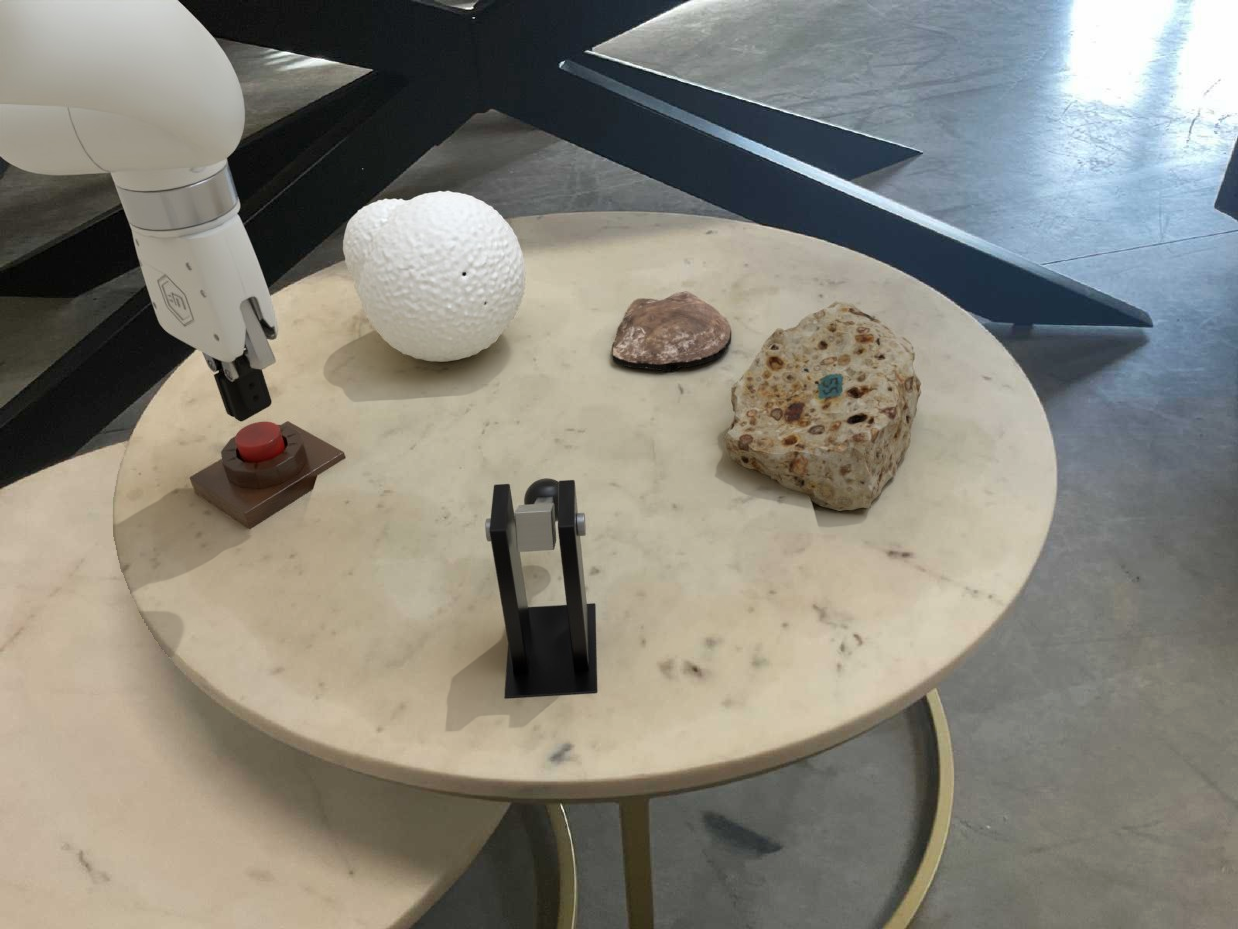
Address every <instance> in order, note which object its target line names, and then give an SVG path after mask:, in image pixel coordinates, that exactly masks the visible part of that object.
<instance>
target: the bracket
mask: <svg viewBox="0 0 1238 929" xmlns="http://www.w3.org/2000/svg"><path fill="white" fill-rule="evenodd" d="M558 482H559V488H558V521H557V533H558V534H557V535H558V542H559V550H560V559H561V560H560V561H561V568H562V569H561V570H562V577H563V578H562V579H563V586H564V594H565V602H566V604H558V605H542V606H528V599H527V591H526V586H525V584H526V583H525V578H524V572H523V565H522V559H521V552H517V541H516V527H515V514H514V513H515V511H514V504H513V496H512V489H511V485H510V483H500V484H499V483H497V484H493V490H492V499H491V510H490V518H485V524H484V526H485V527H484V528H485V530H484V532H485V538H486V541H487V542H490V544H491V550H492V556H493V562H494V568H495V574H496V580H497V585H498V592H499V597H500V598H499V599H500V603H501V610H502V615H503V622H504V627H505V633H506V639H507V653H506V668H505V683H504V699H507V700H508V699H522V698H523V699H524V698H525V699H526V698H539V697H541V698H542V697H555V696H556V697H557V696H558V697H559V696H575V695H590V694H591V695H592V694H597V693H598V658H597V655H598V654H597V613H596V612H597V609H596V607H597V606H596V603H595V602H593V603H592V602H590V603H587V593H586V581H585V573H584V572H585V571H584V561H583V551H582V542H581V541H582V540H581V537H586V535H587V527H586V526H587V525H586V514H585V512H579V510H578V500H577V489H576V480H574V479H565V480H563V479H562V480H559V481H558Z"/></svg>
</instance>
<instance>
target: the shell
mask: <svg viewBox="0 0 1238 929" xmlns="http://www.w3.org/2000/svg"><path fill="white" fill-rule="evenodd" d="M731 343H732V326H731V325H730V322H729V320H727V318H726V317H724V316H723V315H722V314H721V313H720V312H719V311H718V310H717V309H716V308H715V307H713V305H711V304H709V303H707V302H705V301H704V300H702V299H701V298H700V297H698V296H697V295H695V294H694V293H692V292H690V291H689V290H688V291H687V290H685V291H678V292H675V293H673V294H671V295H670V296H668V297H665V298H664V299H655V298H645V297H639V298H636V299H634V300H633V301H632V302H631V303H630V305H629V306H628V307H627V310H626V311H625V313H624V316H623V318H622V321H621V322H620V323H619V325H618V326H617V328H616V334H615V340H614V341H613V343H612V345H611V357H612V361H613V362H614V363H616V364H618V365H622V366H625V367H629V368H632V369H633V368H634V369H649V370H659V371H663V373H668V372H669V373H673V372H676V371H678V370H679V368H689V367H695V366H700V365H703V364H706V363H708V362H712V361H714V360H717V359H718V358H719V357H722V356H723V355H725V353H726V352H727V350H728V348H729V346H731Z"/></svg>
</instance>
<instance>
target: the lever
mask: <svg viewBox="0 0 1238 929" xmlns="http://www.w3.org/2000/svg"><path fill="white" fill-rule="evenodd" d="M558 488H559V481H558V480H556V479H554V478H548V477H547V478H546V477H545V478H540V479H538V480H535V481H534V482H533V483H531V484H530V485H529V486H528V487H527V489H526V491H525V493H524V497H523V504H518V506H517V508H516V510H515V511H514V516H515V527H516V541H517V552H520V553H525V552H540V551H554V550H555V547H556V543H557V528H556V522H558Z"/></svg>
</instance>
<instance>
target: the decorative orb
mask: <svg viewBox="0 0 1238 929" xmlns="http://www.w3.org/2000/svg"><path fill="white" fill-rule="evenodd" d="M362 170H364V168H362ZM355 182H356V181H355ZM344 230H345V231H344V235H343V240H342V245H343V246H342V251H343V256H344V258H345V260H344V263H345V265H346V268H347V270H348V272H349V273H350V275H351V278H352V279H353V281H354V283H353V287H354V289H355V292H356V294H357V296H358V298H359V301H360V304H361V307H362V309H363V312H364V314H365V315H366V317H367V320H368V322H370V324H371V325H372V327H373V328H374V330H375V331H376V332H377V334H378V335H380V336H381V338H382V340H383V341H385V342H387V344H388V345H389V346H390V347H391V348H393V349H395V350H396V351H398V352H400V353H401V354H402V355H407V356H409V357H412V358H414V359H416V360H419V359H420V360H423V361H425V362H438V363H442V362H453V361H458V360H461V359H466V358H470V357H471V356H476V355H477V354H479V353H480V352H481V351H482V350H487V349H489V347H491V346H492V344H494V343H496V342H497V341H498V339H499V337H500V336H501V335H502V334H503V333H504V332H505V331H506V330H507V328H508V327H509V325H510V324H511V323H512V321H513V320H514V319H515V316H516V314H517V312H518V310H519V307H521V303H522V300H523V297H524V294H525V288H526V274H527V271H526V263H525V260H524V254H523V250H522V247H521V245H520V242H519V241H518V236H517V235H516V234H515V231H514V229H513V228H512V227H511V225H510V224H509V222H508V221H507V220H506V219H505V218H504V217H503V216H502V215H501V214H500V213H499V211H498V210H496V209H494V207H493V206H492V205H489V204H487V203H486V202H485V201H483V200H480V199H478V198H476V197H474V195H469V194H467V193H461V192H457V191H456V192H453V191H450V190H445V191H441V190H438V191H434V192H428V193H427V192H426V193H422V194H419V195H417V196H414V197H413V198H411V199H408V200H406V199H405V200H404V199H403V198H399V199H397V198H390V199H388V198H384V199H378V200H377V201H374V202H371V203H369V204H368V205H364V206H362V208H360V209H358V210H357V212H356V213H355V214H353V216H351V218H350V219H349V220H348V222H347V224H346V227H345V229H344ZM310 254H311V252H310Z"/></svg>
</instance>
